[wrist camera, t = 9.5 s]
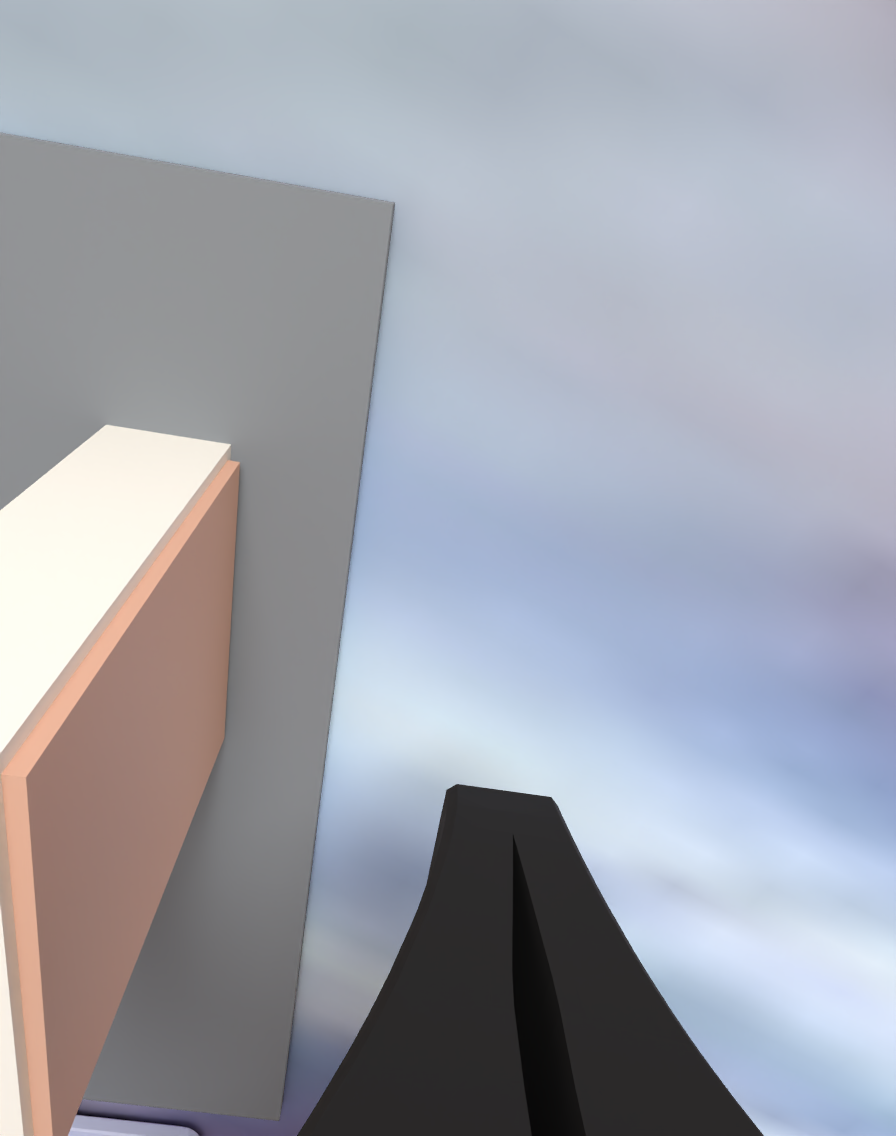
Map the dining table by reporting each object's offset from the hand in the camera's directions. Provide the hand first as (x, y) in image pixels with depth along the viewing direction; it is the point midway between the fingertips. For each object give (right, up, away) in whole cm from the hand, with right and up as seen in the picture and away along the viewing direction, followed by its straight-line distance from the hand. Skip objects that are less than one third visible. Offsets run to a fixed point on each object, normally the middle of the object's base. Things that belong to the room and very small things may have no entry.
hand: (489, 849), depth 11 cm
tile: (-6, +3, +4) cm, 8 cm away
